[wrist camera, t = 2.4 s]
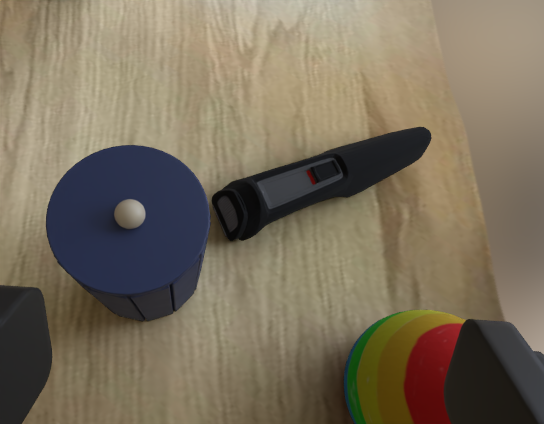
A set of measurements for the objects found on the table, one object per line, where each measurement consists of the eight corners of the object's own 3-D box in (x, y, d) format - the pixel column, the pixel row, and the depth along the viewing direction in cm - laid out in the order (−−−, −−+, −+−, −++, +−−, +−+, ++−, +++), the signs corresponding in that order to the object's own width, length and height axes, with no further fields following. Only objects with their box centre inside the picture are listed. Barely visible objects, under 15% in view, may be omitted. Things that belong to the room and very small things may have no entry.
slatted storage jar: (67, 268, 27) (1, 209, 17) (148, 196, 29) (132, 107, 19) (145, 343, 27) (123, 328, 16) (221, 264, 29) (243, 209, 19)
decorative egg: (310, 429, 27) (380, 462, 17) (350, 298, 30) (427, 266, 20) (437, 479, 27) (571, 537, 18) (463, 345, 30) (590, 335, 21)
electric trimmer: (422, 173, 34) (446, 154, 31) (230, 248, 29) (236, 234, 26) (398, 130, 35) (419, 108, 32) (208, 197, 30) (211, 177, 27)
